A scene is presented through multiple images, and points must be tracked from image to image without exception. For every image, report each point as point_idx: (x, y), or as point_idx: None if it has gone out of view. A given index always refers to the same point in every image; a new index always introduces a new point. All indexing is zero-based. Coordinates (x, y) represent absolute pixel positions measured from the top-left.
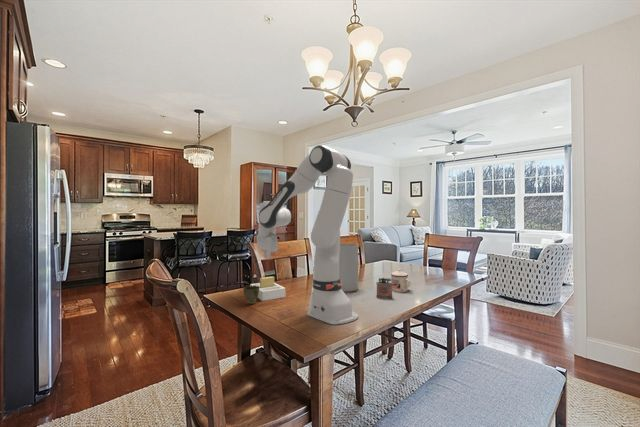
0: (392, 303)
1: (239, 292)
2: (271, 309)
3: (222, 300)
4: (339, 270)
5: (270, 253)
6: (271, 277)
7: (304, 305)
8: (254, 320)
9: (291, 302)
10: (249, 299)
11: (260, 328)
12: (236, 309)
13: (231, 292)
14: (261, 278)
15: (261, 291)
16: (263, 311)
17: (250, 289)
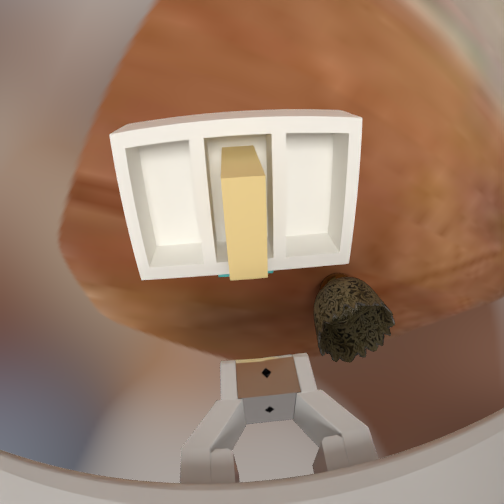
0: None
1: (130, 293)
2: (440, 238)
3: (227, 357)
4: None
5: (347, 411)
6: (259, 200)
7: (482, 112)
8: (463, 300)
9: (430, 132)
10: (359, 310)
11: (498, 296)
12: None
13: (120, 318)
14: (250, 275)
15: (334, 264)
16: (435, 266)
17: (318, 320)
